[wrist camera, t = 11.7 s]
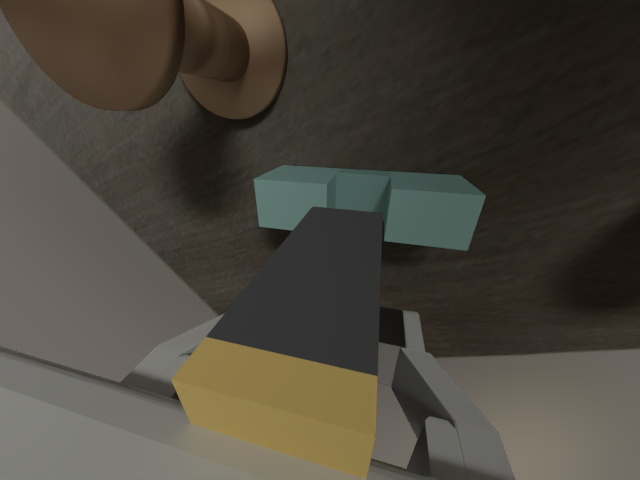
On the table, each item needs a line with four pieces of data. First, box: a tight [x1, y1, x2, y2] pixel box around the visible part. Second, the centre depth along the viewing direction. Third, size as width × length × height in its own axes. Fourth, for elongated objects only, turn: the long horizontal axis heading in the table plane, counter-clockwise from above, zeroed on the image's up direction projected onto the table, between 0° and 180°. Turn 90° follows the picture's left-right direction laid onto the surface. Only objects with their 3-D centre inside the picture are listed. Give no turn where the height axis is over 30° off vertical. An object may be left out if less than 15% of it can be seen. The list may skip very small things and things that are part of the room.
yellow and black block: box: [171, 206, 383, 479], centre depth 8 cm, size 6×3×8 cm, turn 179°
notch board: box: [254, 165, 486, 251], centre depth 20 cm, size 4×16×6 cm, turn 89°
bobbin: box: [0, 0, 288, 119], centre depth 15 cm, size 10×10×12 cm
